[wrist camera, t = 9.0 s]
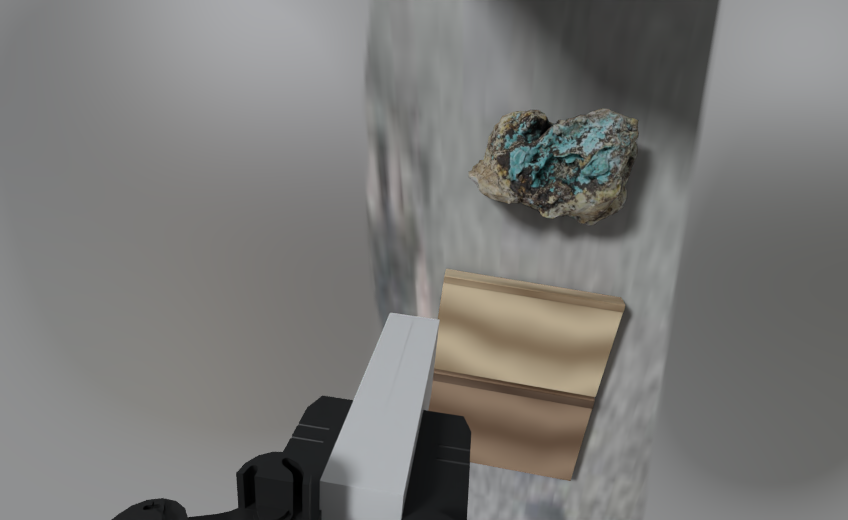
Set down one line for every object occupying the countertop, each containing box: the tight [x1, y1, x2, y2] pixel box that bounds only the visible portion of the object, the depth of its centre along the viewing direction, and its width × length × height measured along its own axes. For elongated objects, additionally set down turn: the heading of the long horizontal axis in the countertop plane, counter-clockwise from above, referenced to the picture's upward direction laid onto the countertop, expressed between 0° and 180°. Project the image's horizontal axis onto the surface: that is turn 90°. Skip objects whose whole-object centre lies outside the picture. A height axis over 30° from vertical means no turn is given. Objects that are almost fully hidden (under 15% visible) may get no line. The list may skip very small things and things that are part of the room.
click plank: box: [434, 269, 625, 397], centre depth 46 cm, size 10×16×2 cm, turn 82°
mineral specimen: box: [469, 109, 639, 226], centre depth 39 cm, size 12×9×8 cm
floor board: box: [428, 369, 595, 481], centre depth 50 cm, size 10×16×2 cm, turn 82°
